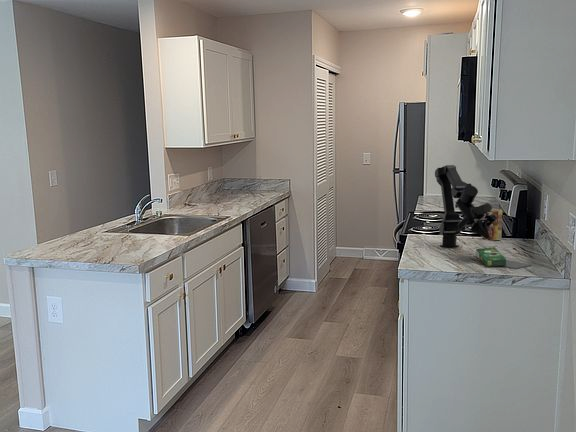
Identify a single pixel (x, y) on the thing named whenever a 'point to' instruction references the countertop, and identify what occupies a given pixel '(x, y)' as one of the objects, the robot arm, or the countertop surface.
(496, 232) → the candy box
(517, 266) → the mat
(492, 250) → the coffee box
